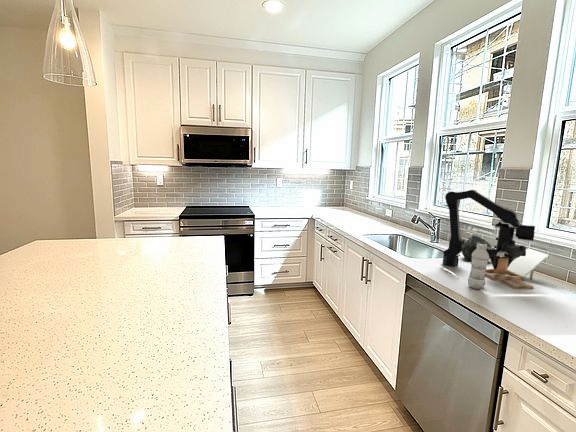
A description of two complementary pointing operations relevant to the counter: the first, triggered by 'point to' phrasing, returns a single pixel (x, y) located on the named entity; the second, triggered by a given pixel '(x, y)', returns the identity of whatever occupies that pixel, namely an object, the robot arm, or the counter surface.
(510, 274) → the wooden tray
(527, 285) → the stand
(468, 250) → the squash
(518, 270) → the propped lid
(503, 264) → the pot
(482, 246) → the plastic bottle
